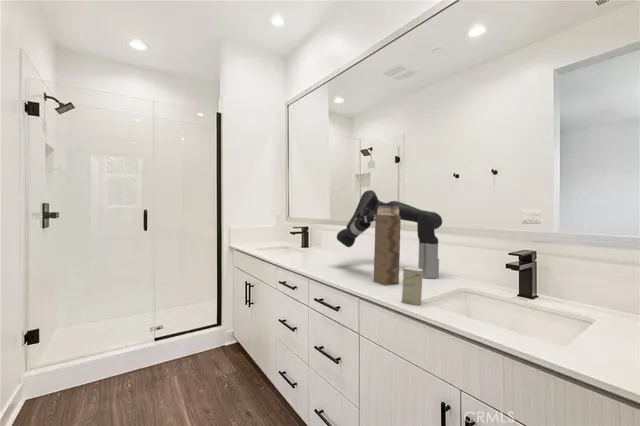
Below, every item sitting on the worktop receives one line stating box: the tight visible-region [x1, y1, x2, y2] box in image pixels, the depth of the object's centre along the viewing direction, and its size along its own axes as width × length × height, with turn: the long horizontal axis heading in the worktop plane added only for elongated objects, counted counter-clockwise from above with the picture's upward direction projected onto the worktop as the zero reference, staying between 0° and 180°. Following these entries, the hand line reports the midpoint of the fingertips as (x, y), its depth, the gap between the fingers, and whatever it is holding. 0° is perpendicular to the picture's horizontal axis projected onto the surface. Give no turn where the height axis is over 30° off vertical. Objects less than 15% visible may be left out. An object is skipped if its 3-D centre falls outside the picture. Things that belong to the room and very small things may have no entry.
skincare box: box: [401, 266, 423, 306], centre depth 105 cm, size 6×4×12 cm
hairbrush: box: [368, 206, 399, 216], centre depth 137 cm, size 6×16×4 cm, turn 26°
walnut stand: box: [373, 215, 402, 287], centre depth 133 cm, size 8×8×31 cm
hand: (376, 210), depth 141 cm, fingers open, 8 cm apart
